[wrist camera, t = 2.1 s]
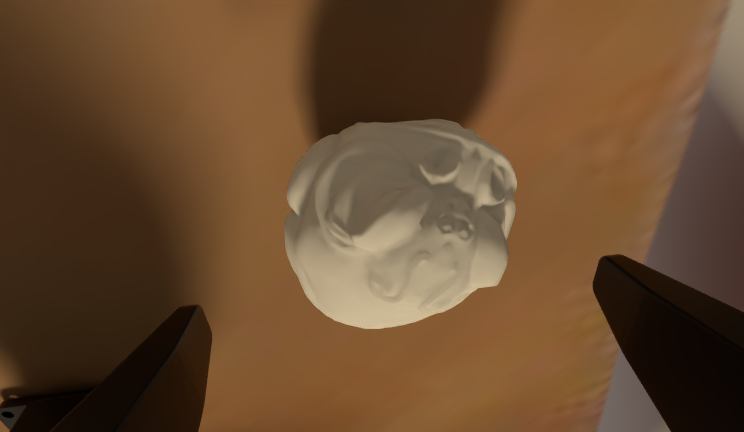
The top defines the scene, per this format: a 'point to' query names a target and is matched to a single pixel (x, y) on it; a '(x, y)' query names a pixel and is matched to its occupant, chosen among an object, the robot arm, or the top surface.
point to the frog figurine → (398, 220)
